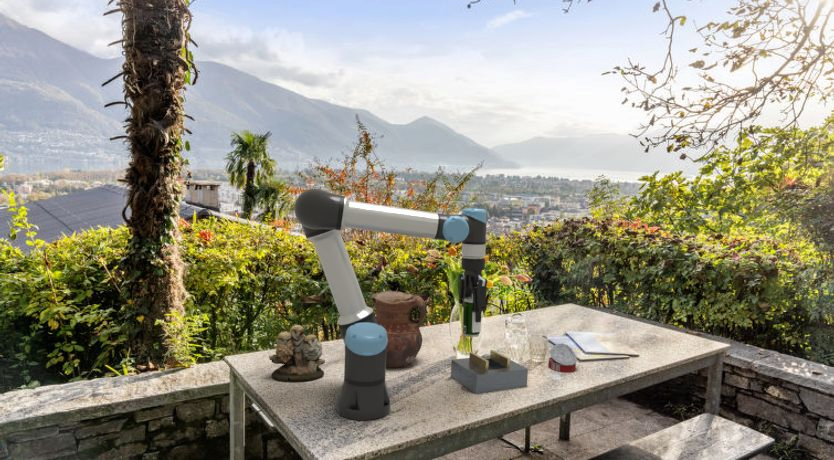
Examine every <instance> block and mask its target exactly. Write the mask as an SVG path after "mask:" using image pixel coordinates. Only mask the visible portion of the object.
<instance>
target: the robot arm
mask: <svg viewBox="0 0 834 460" xmlns="http://www.w3.org/2000/svg"><path fill="white" fill-rule="evenodd" d="M293 207H294V208H293V209H294V216H295V218H296V220H297V222H298V223H300V224H301V228H302V230H303V233H304V236H305V238H306V240H308V241H309V242H311V243H313V244H314V248H315V250H316V254H317V257H318V259H319V262H320V265H321V267H322V270H323V273H324V276H325V279H326V281H327V284H328V286H329V289H330V292H331V294H332V297H333V300H334V303H335V306H336V308H337V309H336V310H337V311H338V314H339V317H338V319H337V321H336V322H337V323H336V324H337V326H338V330H339V331H340V332H339V333H340V334H341V338H342V341H343V343H344V369H343V370H344V372H343V375H344V376H343V383H342V386H341V389H340V391H339V395H338V396H337V400H336V412H337V414H339V415H340V416H341V417H344V418H347V419H350V420H356V421H371V419H373V420H378V419H381V418H383V417H385V416H387V415H388V414H389V413H390V412H391V399H390V395H389V392H388V388H387V384H386V374H387V372H386V371H387V367H386V352H387V343H388V338H387V332H386V330H385V328H384V327H382V326H381V325H378V322H377V319H376V313H375V311H374V309H373V308H372V307H370V306H367V304H366V301H365V298H364V296H363V292H362V290H361V287H360V284H359V280H358V279H357V276H356V272H355V270H354V268H353V264H352V261H351V258H350V256H349V252H348V250H347V246H346V244H345V242H344V239H343V236H342V231H343V230H345V229H347V228H349V229H355V230H356V229H357V230H362V231H371V232H378V233H385V234H392V235H400V236H407V237H413V238H415V237H416V238H423V239H431V240H437V241H444V242H449V243H452V244H456V243H457V244H458V243H461V256H462V258H461V265H460V266H461V267H460V268H461V270H464V271H463V273H459V277H458V278H459V293H458V294H459V295H458V296H459V297H458V303H459V305H461V307H462V310H463V309H464V299H465V297H467V296H473V304H474V310H472V312H473V313H472V332H473V333H474V332H480V333H481V331H482V326H481V325H482V313H483V312H485V311H486V310H487V285H488V279H487V278H485V279H484V278H483V275H482V272H483V271H484V270H485V269H486V259H485V257H486V248H487V247H486V244H487V242H486V241H487V240H486V239H487V224H488V222H487V212H486V210H485V209H484V208H463V210H462V213H461V214H451V213H450V214H445V213H437V212H432V211H424V210H417V209H410V208H403V207H397V206H390V205H383V204H376V203H369V202H363V201H356V200H355V201H354V200H350V199H349V197H348V196H346V195H339V194H335V193H331V192H328V191H327V190H325V189H322V188H309V189H307V190H304V191H303V192H301V193H300V194H299V195H298V197H297V198H296V200H295V202H294V206H293ZM461 327H462V328H463V325H462V326H461ZM377 418H378V419H377Z"/></svg>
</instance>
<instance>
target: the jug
mask: <svg viewBox="0 0 834 460" xmlns="http://www.w3.org/2000/svg"><path fill="white" fill-rule="evenodd" d="M370 297H371V298H370V299H371V301H372V302H373V304H374V306H375V312H376V313H375V317H376V319H377V322H378V325H381V326H382V327H384V328H385V330H386V332H387V338H388V343H387V352H386V368H402V367H406V366H408V365H410V364H411V363H412V361H414V359H415V358H416V357H417V356H418V354H419V352H420V351H421V349H422V345H423V335H422V333H421V330H420V327H421V325H422V324H423V322H424V320H425V319H426V316H427V309H428V308H427V305H426V302H425V300H424V299H423V298H422V297H421V296H420V295H415V294H413V293H405V292H402V291H396V290H385V291H380V292H378V293H374V294H372V295H371V296H370ZM414 307H418V308H419V315H418V319H417V320H414V319H413V318H412V315H413V310H414Z"/></svg>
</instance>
